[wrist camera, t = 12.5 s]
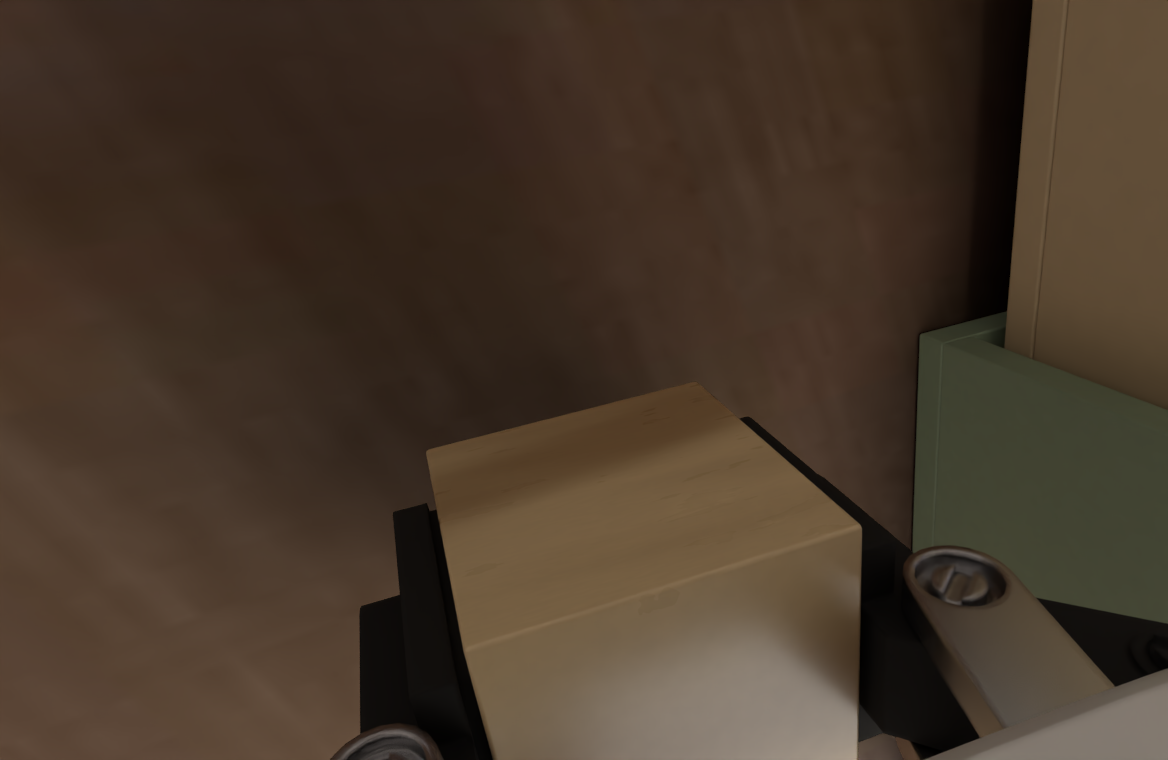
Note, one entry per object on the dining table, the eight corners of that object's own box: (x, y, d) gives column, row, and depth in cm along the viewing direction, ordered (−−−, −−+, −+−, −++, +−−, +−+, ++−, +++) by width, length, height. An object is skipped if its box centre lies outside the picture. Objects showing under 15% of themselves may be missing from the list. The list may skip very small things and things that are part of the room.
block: (425, 448, 11) (462, 651, 7) (696, 380, 12) (864, 525, 8) (482, 668, 13) (537, 927, 9) (714, 594, 14) (859, 800, 10)
